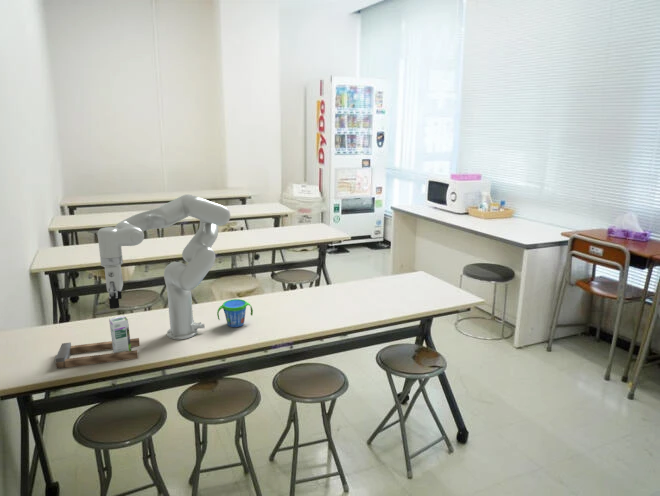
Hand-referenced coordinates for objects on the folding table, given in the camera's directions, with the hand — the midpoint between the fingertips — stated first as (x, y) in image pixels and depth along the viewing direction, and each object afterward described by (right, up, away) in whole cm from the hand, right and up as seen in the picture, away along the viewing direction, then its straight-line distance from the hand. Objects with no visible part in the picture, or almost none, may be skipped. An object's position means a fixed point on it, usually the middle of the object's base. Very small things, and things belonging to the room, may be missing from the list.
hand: (116, 303), depth 187 cm
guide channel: (-8, -21, +3) cm, 22 cm away
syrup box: (0, -20, +6) cm, 21 cm away
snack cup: (+39, -13, +33) cm, 53 cm away
